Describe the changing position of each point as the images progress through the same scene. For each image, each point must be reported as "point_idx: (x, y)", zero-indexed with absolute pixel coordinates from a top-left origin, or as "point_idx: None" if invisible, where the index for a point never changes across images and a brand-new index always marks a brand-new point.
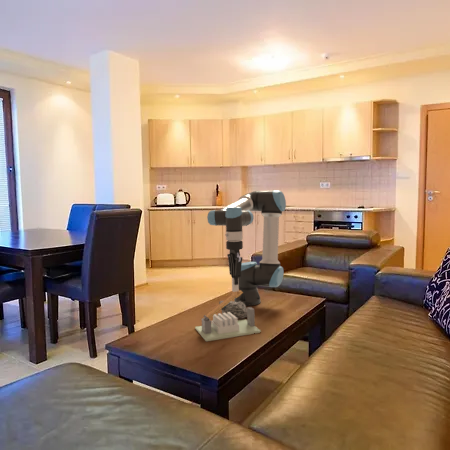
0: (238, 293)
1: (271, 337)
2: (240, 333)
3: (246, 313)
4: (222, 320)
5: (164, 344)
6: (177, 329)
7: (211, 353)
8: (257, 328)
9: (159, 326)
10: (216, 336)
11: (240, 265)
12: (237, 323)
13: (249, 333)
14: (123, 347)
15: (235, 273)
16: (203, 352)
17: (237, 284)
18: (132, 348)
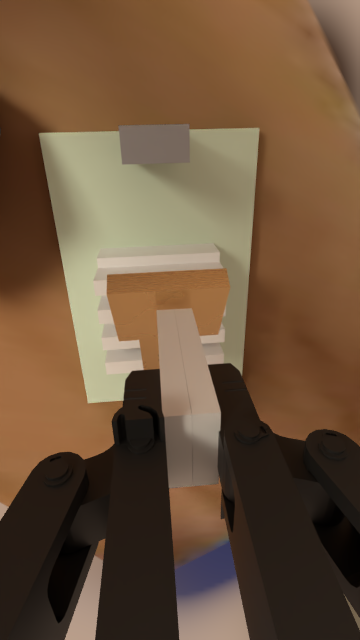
0: (217, 312)
1: (345, 101)
2: (248, 250)
3: None
4: (223, 354)
5: (202, 488)
6: (75, 450)
7: (341, 389)
8: (224, 132)
9: None
10: (232, 353)
11: None
12: (220, 264)
13: (252, 200)
14: (177, 561)
15: (357, 563)
16: (320, 407)
17: (231, 372)
18: (193, 547)
